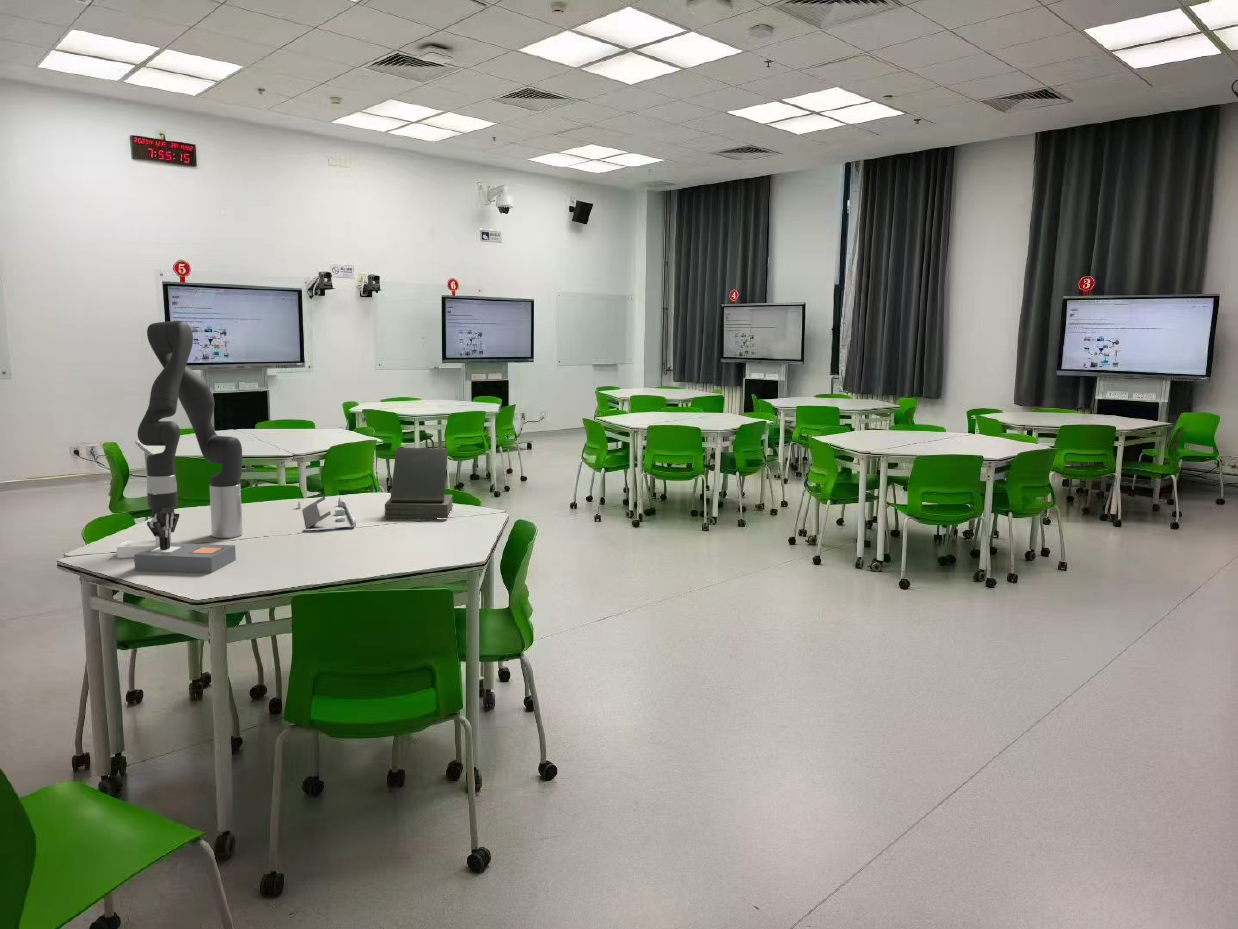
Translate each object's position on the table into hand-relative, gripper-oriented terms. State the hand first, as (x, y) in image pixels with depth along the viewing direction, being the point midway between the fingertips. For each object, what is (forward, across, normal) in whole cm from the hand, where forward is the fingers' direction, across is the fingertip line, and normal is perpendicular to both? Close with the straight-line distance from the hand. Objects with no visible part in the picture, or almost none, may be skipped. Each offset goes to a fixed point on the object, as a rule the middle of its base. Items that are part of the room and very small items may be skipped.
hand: (165, 549), depth 241 cm
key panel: (+4, 0, +6) cm, 8 cm away
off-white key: (+4, 0, 0) cm, 4 cm away
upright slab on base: (+5, -79, +53) cm, 95 cm away
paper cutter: (+5, -67, +22) cm, 70 cm away
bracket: (+5, -10, -12) cm, 17 cm away
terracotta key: (+3, 0, +12) cm, 13 cm away
